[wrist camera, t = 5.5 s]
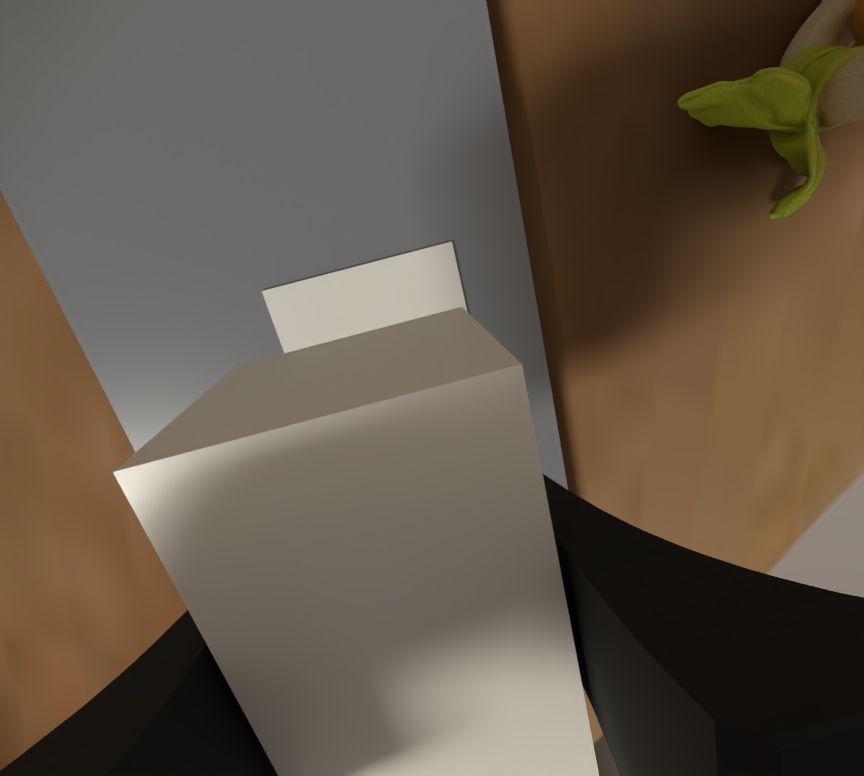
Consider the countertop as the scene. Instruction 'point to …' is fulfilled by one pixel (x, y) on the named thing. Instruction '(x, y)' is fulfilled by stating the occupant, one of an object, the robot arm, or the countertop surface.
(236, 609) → the cream brick
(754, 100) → the bird rattle
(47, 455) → the countertop surface
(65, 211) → the baseplate
